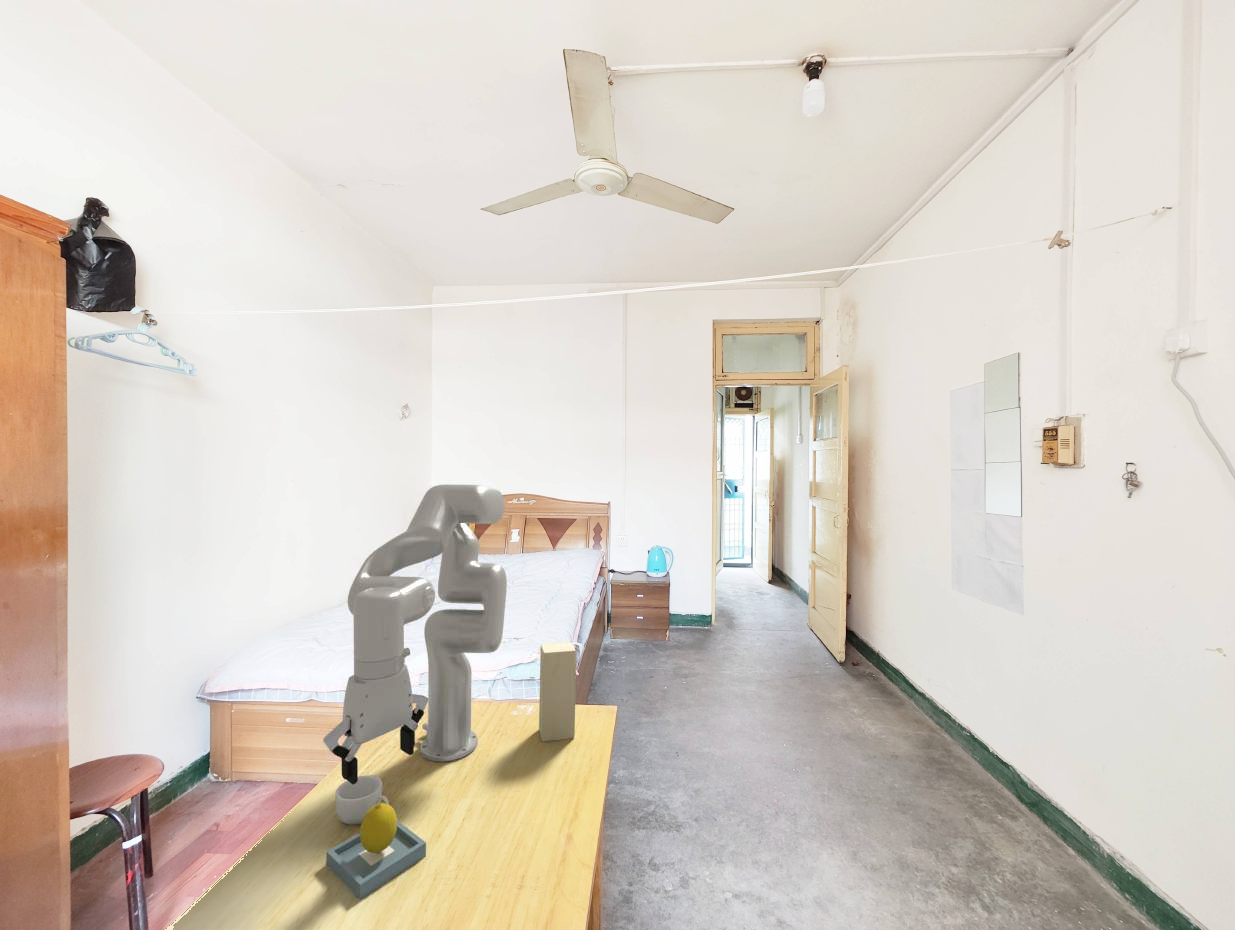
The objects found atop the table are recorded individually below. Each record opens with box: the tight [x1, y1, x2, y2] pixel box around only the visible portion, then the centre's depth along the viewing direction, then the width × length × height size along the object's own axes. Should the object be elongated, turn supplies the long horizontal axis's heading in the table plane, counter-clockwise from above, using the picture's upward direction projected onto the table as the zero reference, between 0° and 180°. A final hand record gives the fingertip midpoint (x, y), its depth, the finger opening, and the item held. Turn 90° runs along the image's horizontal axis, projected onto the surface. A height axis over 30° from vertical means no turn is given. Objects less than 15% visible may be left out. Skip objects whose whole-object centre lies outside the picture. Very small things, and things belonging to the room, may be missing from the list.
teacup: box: [334, 774, 390, 826], centre depth 96 cm, size 10×8×5 cm
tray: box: [325, 820, 427, 900], centre depth 85 cm, size 11×11×2 cm
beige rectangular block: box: [538, 641, 577, 742], centre depth 127 cm, size 8×7×21 cm
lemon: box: [359, 802, 398, 853], centre depth 85 cm, size 6×6×8 cm
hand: (380, 765), depth 86 cm, fingers open, 9 cm apart
